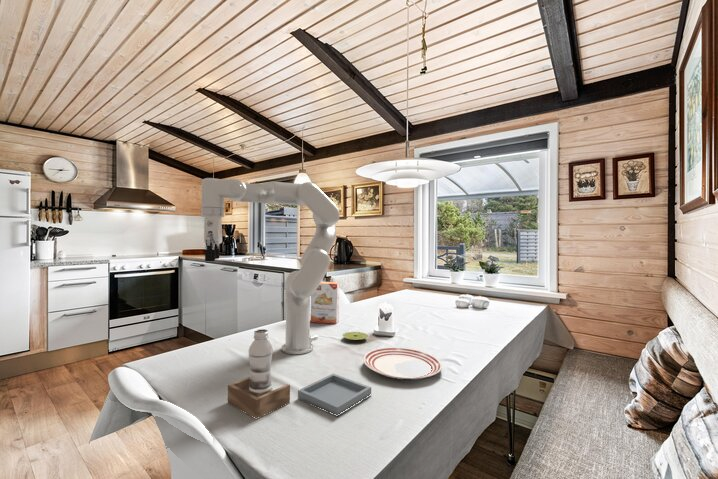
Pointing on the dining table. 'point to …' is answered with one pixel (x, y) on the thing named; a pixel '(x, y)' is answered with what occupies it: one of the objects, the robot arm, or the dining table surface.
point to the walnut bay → (256, 398)
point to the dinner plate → (399, 361)
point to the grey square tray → (334, 393)
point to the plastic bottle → (260, 364)
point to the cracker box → (325, 303)
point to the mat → (355, 335)
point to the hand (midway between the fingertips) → (212, 259)
